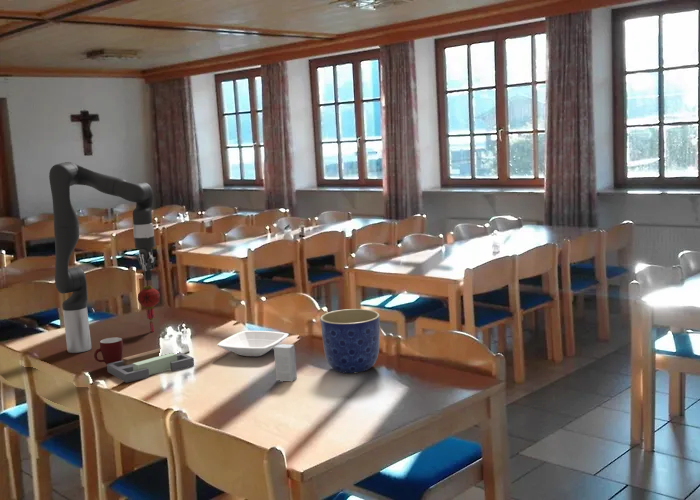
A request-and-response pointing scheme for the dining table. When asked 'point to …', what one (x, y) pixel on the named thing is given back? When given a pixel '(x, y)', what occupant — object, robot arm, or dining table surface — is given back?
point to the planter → (351, 339)
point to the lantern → (149, 301)
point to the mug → (110, 350)
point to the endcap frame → (129, 375)
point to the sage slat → (156, 363)
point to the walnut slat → (141, 357)
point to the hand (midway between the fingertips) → (148, 280)
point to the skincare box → (285, 362)
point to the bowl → (252, 342)
